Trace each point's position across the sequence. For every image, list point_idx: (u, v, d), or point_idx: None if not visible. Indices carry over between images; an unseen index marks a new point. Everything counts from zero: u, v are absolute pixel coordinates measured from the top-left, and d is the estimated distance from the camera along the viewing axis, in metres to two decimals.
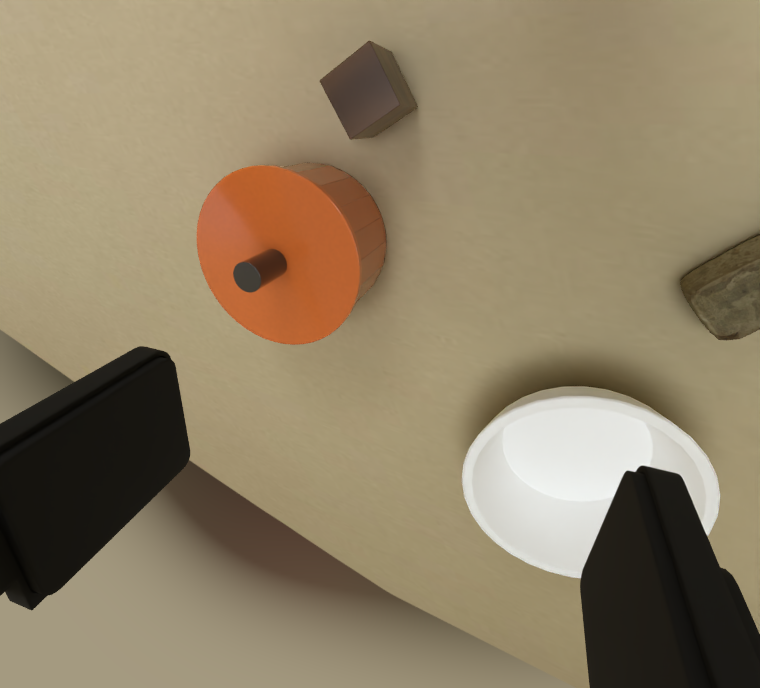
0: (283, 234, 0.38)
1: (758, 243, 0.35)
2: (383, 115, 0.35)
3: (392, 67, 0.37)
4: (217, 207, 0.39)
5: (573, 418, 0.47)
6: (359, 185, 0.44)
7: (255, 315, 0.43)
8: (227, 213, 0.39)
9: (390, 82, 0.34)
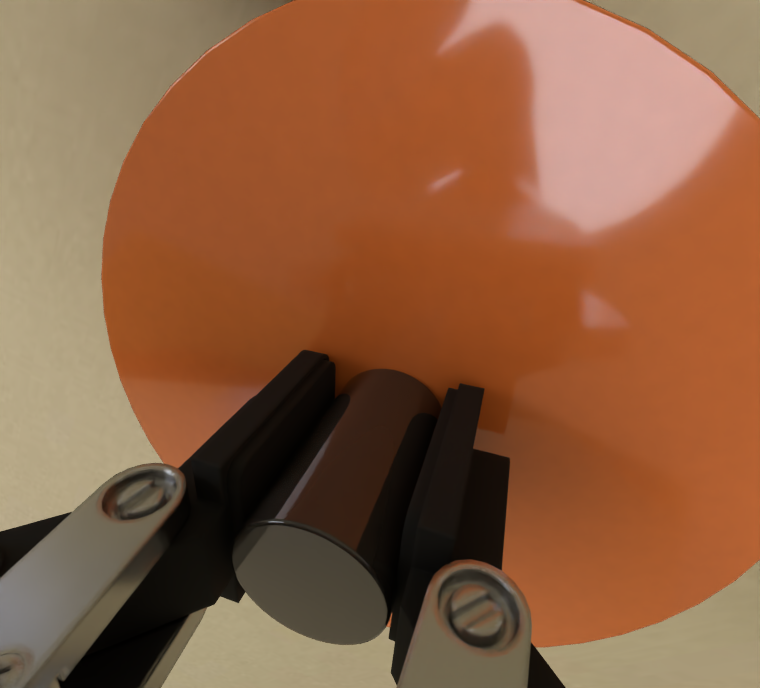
0: (325, 311, 0.10)
1: None
2: None
3: None
4: (170, 421, 0.13)
5: None
6: None
7: None
8: (193, 411, 0.12)
9: None
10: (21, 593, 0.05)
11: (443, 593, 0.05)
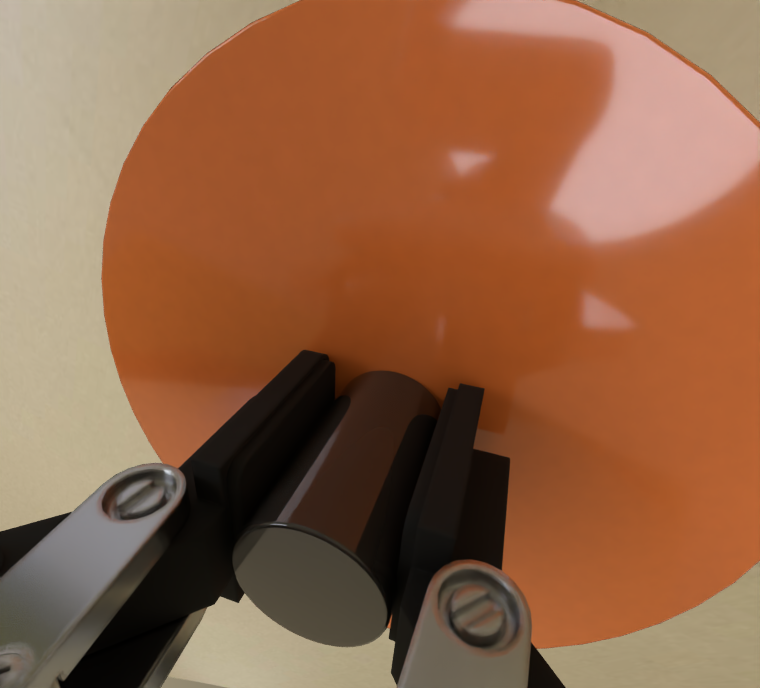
0: (325, 313, 0.10)
1: None
2: None
3: None
4: (170, 423, 0.13)
5: None
6: None
7: None
8: (193, 412, 0.12)
9: None
10: (21, 593, 0.05)
11: (443, 592, 0.05)
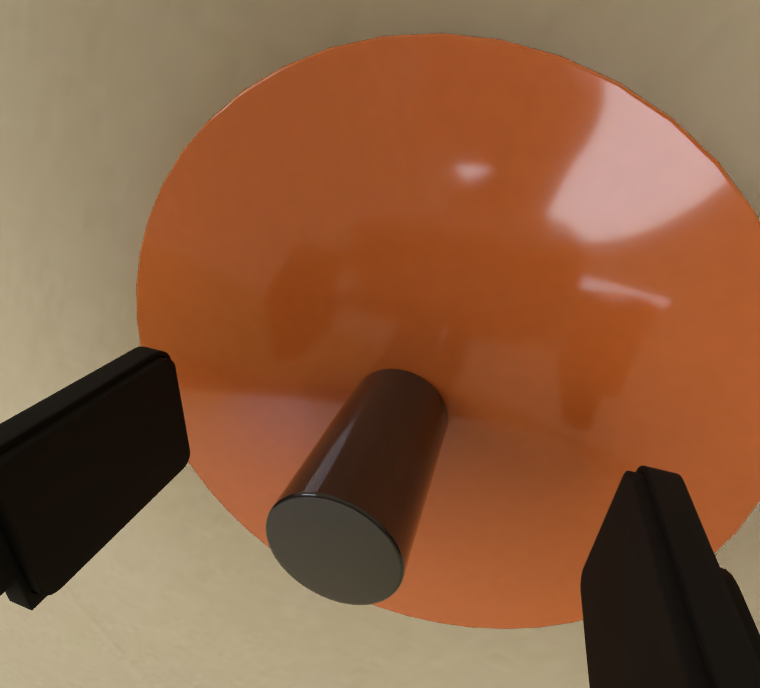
0: (342, 317, 0.11)
1: None
2: None
3: None
4: (193, 418, 0.14)
5: None
6: None
7: (494, 581, 0.13)
8: (216, 409, 0.14)
9: None
10: None
11: None
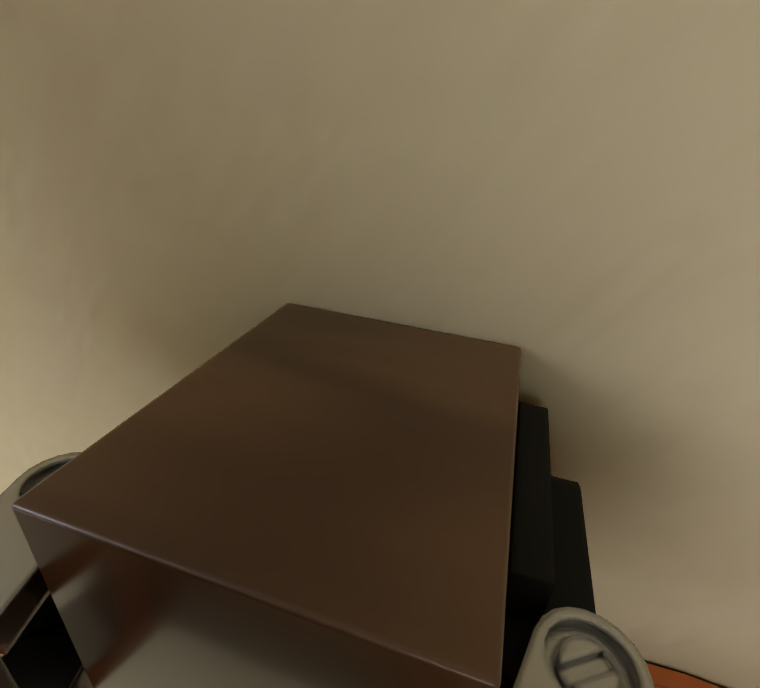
0: None
1: None
2: None
3: (303, 379, 0.07)
4: None
5: None
6: None
7: None
8: None
9: (302, 584, 0.04)
10: None
11: (546, 646, 0.05)
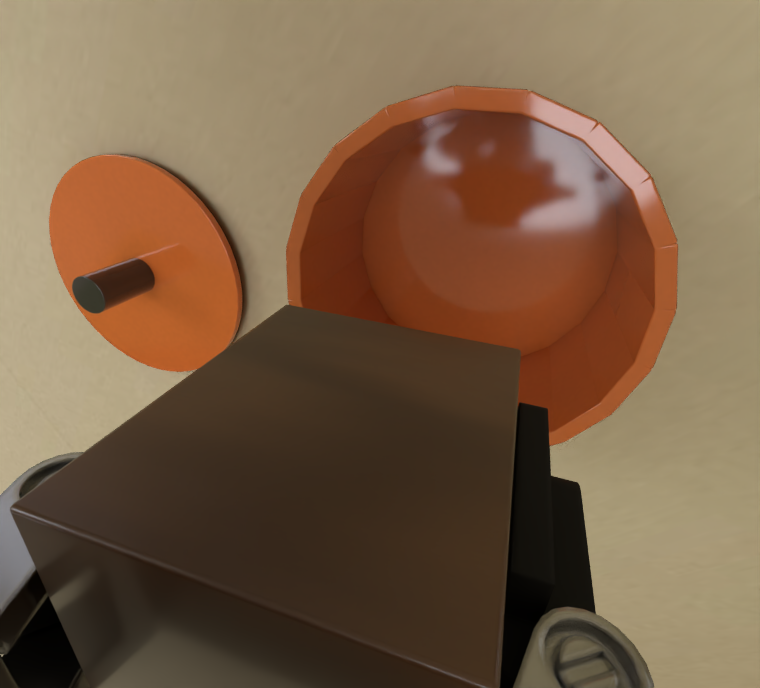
0: (115, 240, 0.32)
1: None
2: None
3: (302, 380, 0.07)
4: None
5: None
6: None
7: (188, 344, 0.34)
8: None
9: (300, 588, 0.04)
10: None
11: (547, 646, 0.05)
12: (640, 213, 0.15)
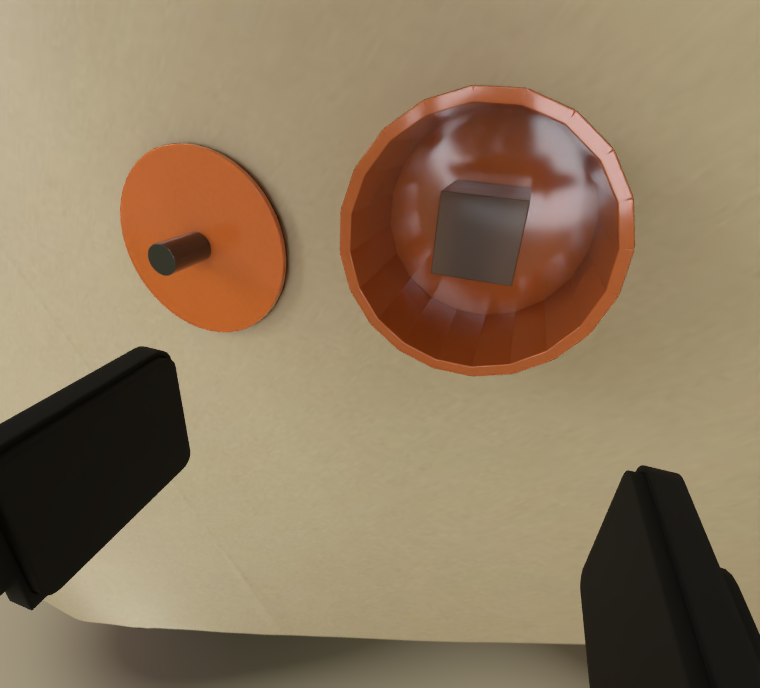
0: (178, 216, 0.38)
1: None
2: (522, 229, 0.25)
3: (477, 186, 0.28)
4: (141, 258, 0.41)
5: None
6: None
7: (237, 307, 0.40)
8: (147, 253, 0.41)
9: (497, 196, 0.25)
10: None
11: None
12: (606, 176, 0.21)
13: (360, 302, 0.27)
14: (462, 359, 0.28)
